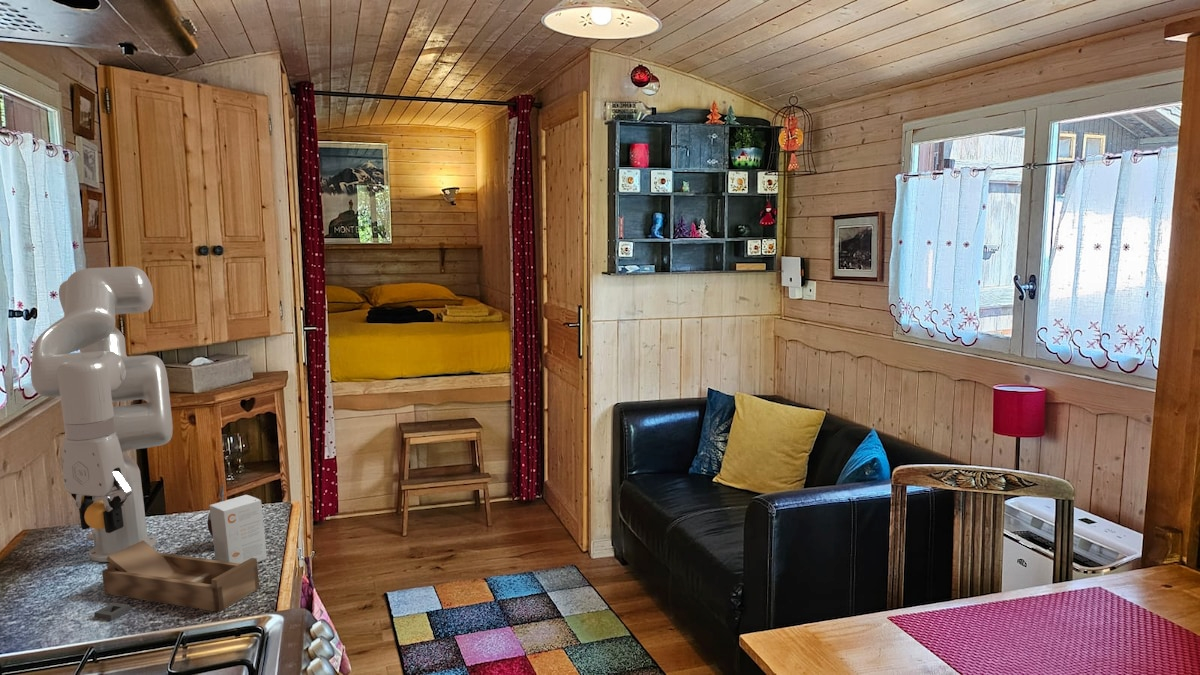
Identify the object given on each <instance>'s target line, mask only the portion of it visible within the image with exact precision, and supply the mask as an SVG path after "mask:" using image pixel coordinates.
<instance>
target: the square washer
mask: <svg viewBox="0 0 1200 675" xmlns="http://www.w3.org/2000/svg"><path fill="white" fill-rule="evenodd" d="M131 607H132V606H131V605H129V604H124V603H121V602H112V603H111V604H108V605H107V606H104V607H102V608H100V609H98V610H96V611H95V612H94V613H93V614H94V618H95V619H99V620H106V621H110V620H111V621H114V620H116V619H118V618H120V617H121V616H123V615H125V614H127V613H130V612H131V611H132V608H131ZM119 616H120V617H119ZM117 617H118V618H117ZM115 618H116V619H115Z"/></svg>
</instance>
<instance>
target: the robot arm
mask: <svg viewBox="0 0 1200 675" xmlns="http://www.w3.org/2000/svg"><path fill="white" fill-rule="evenodd" d="M153 290H154V289H153V286H152V282H151V281H150V278H149V277H148V275H147V274H146V272H145V271H144V270H143V269H141V268H139V267H136V266H130V265H129V266H106V267H88V268H83V269H79V270H76V271H74V272H73V273H72V274H71V275H69V277H68V279H67V280H65V281H63V282H62V283H61V284H60V285H59V288H58V299H59V301H60V305H61V306H60V307H61V308H62V312H63V313H64V314H63V317H62V318H60V319H59V320H57V321H55V322H54V323H53V324H51V325H50V326H49V327H48V328H47V329H44V331H43V332H42V333H40V335H39V336H38V337H37V339H36V341H35V342H34V346H33V348H32V349H33V350H32V356H31V364H30V381H31V385H32V387H33V389H34V391H35V392H36V393H37V394H38V395H40V396H41V397H45V398H56V397H59V398H60V406H61V413H62V420H63V428H64V429H63V430H64V434H65V437H64V438H63V442H62V451H61V460H62V461H61V465H62V468H61V469H62V477H63V478H62V480H63V486H64V490H65V491H66V492H67V493H69V494H70V495H71V497H72V499H74V501H75V506H76V507H77V508H78V512H79V518H80V528H81V529H82V530H88V529H90V528H91V527H90V526H88V525H87V523H86V521H85V518H84V516H85V511H86V509H87V508H88V507H89V506H90V505H91V504H92V503H94V502H97V501H103V503H104V506H105V509H106V511H104V512H103V516H104V524H105V529H94V528H92V530H91V533H88V534H87V535H86V539H87V540H88V541H93V545H94V546H93V547H92V548H91V549H90V550H89V551H88V556H89V559H90V560H92V561H94V562H99V563H109V562H108V561H107V560H106V559H107V557H108V556H109V555H111V554H113V553H116V552H118V551H120V550H122V549H125V548H127V547H129V546H131V545H134V544H136V543H138V542H140V541H143V540H144V541H145V542H146V543H147V544H149V545H150V546H151V547H152V548H154V549H155V547H156V546H157V538H156V537H155V536H152V535H149V534H148V529H147V519H146V514H145V513H146V512H145V503H144V493H143V487H142V486H143V485H142V477H141V470H140V468H139V466H138V463H136V461H135V460H134V459H133V458H132V457H131V456H129V455H128V454H126V452H127V451H132V450H139V449H147V448H153V447H154V448H155V447H159V446H160V447H161V446H164V445H166V444H168V443H169V442H170V441H171V440H172V437H173V430H174V427H173V426H174V425H173V416H172V414H173V413H172V406H171V405H172V404H171V396H170V388H169V387H170V386H169V380H168V372H167V368H166V366H165V363H164V362H163V360H162V358H160V357H158V356H156V355H152V354H151V355H149V354H145V355H134V356H128V355H127V349H126V338H125V336H124V334H123V333H122V332H121V331H120V329H119V328H117V326H116V315H126V314H140V313H141V314H142V313H146V312H148V311H150V309H151V308H152V305H153V303H154V291H153ZM76 351H80V352H76ZM136 400H142V401H145V403H139V404H138V403H137V404H130V405H118V406H114V405H113V403H118V402H126V401H127V402H129V401H136Z"/></svg>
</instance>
